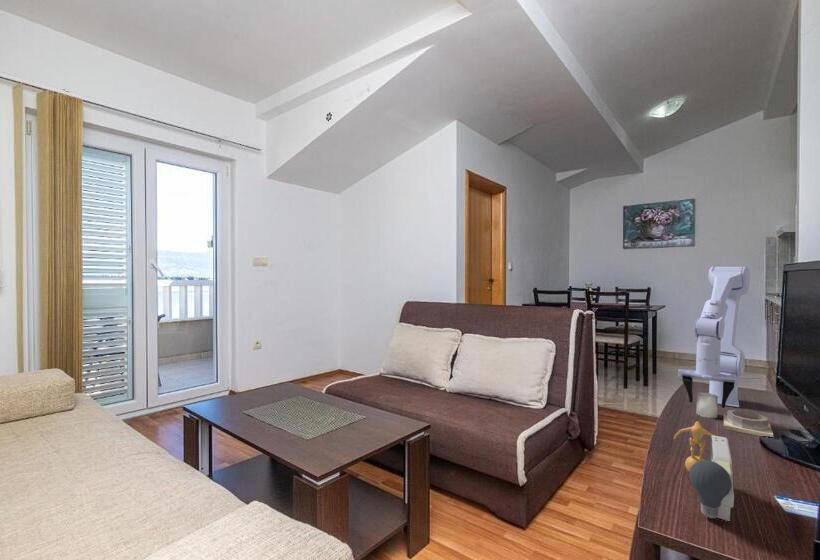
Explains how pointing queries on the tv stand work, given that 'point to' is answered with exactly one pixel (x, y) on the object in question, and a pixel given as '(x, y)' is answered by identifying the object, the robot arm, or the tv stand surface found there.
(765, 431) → the beige square plate
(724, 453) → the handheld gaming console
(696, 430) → the figurine
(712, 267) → the robot arm
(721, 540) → the tv stand surface
